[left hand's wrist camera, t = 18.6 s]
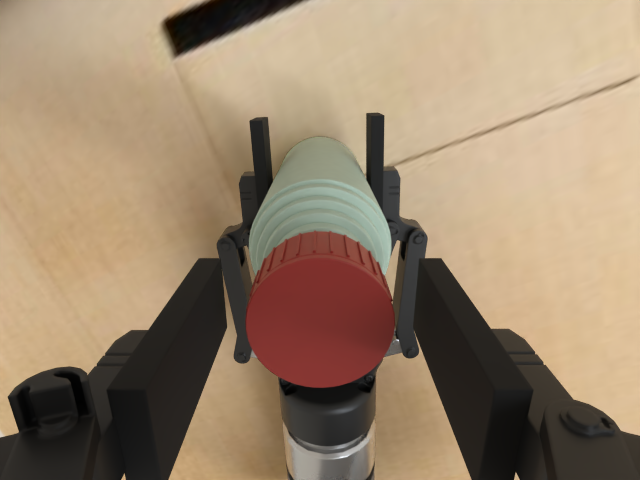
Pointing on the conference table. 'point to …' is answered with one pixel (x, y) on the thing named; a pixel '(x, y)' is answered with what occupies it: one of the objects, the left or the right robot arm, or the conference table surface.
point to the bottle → (320, 202)
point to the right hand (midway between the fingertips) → (316, 117)
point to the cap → (320, 311)
